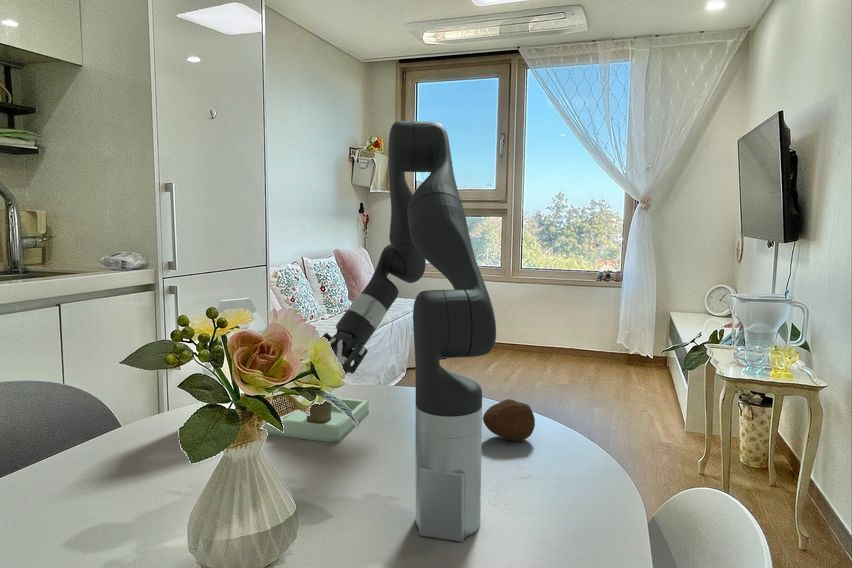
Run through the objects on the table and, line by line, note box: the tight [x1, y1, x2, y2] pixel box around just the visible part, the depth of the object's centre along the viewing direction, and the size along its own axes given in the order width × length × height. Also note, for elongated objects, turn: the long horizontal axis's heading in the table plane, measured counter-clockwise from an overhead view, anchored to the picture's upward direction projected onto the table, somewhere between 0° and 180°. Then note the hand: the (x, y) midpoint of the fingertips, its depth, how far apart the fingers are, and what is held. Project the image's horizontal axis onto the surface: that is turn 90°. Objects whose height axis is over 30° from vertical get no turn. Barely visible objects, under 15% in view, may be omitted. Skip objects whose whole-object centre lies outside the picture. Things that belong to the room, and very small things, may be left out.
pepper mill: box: [307, 392, 332, 424], centre depth 114 cm, size 5×5×11 cm
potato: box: [482, 398, 536, 442], centre depth 107 cm, size 7×10×8 cm
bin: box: [263, 397, 370, 444], centre depth 115 cm, size 16×16×3 cm
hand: (317, 381), depth 114 cm, fingers open, 8 cm apart
